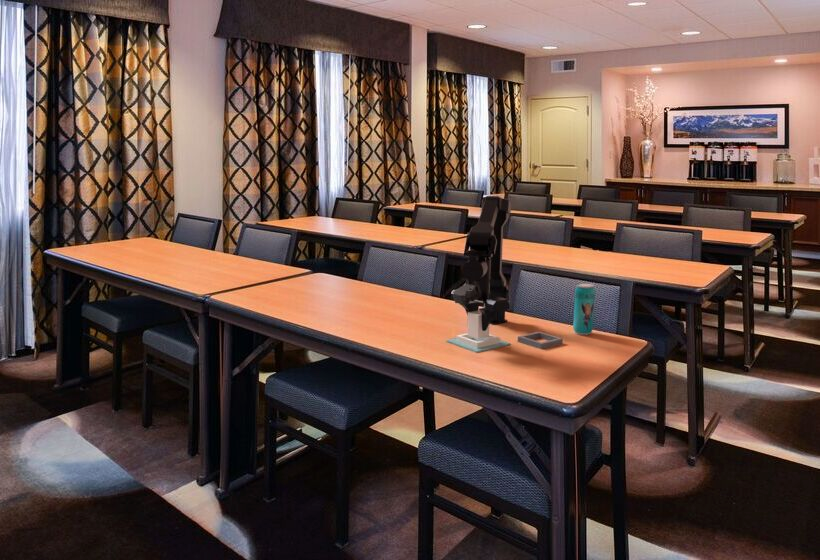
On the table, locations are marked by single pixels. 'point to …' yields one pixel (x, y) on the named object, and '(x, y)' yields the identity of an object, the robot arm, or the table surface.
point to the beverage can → (584, 308)
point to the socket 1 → (477, 342)
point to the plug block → (476, 326)
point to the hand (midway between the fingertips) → (478, 328)
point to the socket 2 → (551, 342)
